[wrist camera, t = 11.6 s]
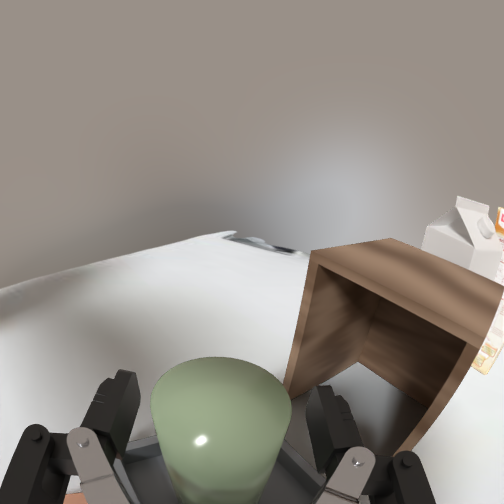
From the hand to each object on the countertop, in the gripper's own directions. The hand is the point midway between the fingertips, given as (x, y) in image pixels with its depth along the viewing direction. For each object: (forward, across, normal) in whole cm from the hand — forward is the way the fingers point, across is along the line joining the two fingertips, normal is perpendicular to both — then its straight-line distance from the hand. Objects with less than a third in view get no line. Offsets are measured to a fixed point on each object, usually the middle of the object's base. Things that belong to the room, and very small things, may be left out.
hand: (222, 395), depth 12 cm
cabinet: (+6, -13, +9) cm, 17 cm away
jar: (-2, 0, +8) cm, 8 cm away
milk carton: (+13, -24, +10) cm, 29 cm away
